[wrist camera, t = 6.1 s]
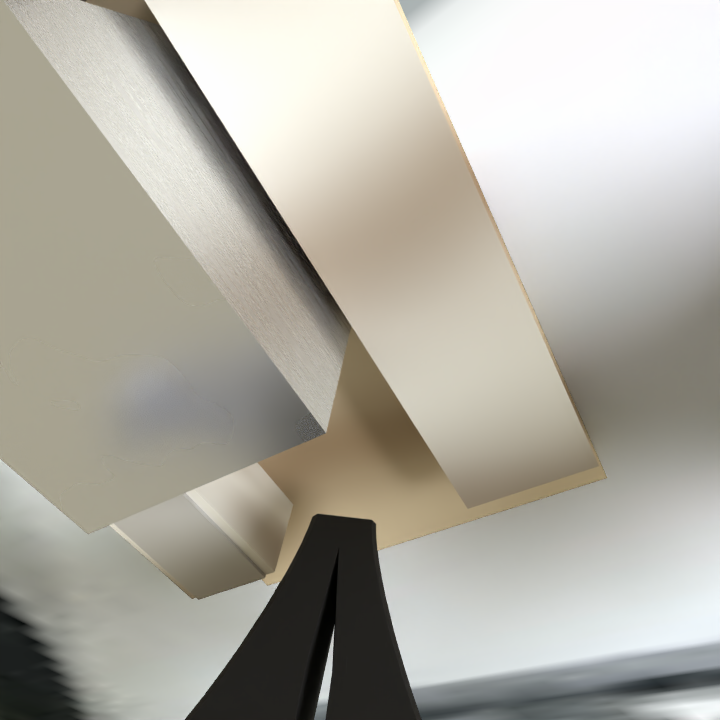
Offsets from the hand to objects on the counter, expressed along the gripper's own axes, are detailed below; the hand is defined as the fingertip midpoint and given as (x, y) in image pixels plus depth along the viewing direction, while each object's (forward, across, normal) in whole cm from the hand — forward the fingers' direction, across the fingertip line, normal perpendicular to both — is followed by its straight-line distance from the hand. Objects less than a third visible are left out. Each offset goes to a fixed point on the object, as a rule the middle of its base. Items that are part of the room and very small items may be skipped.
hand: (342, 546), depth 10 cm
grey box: (+3, +5, -5) cm, 8 cm away
